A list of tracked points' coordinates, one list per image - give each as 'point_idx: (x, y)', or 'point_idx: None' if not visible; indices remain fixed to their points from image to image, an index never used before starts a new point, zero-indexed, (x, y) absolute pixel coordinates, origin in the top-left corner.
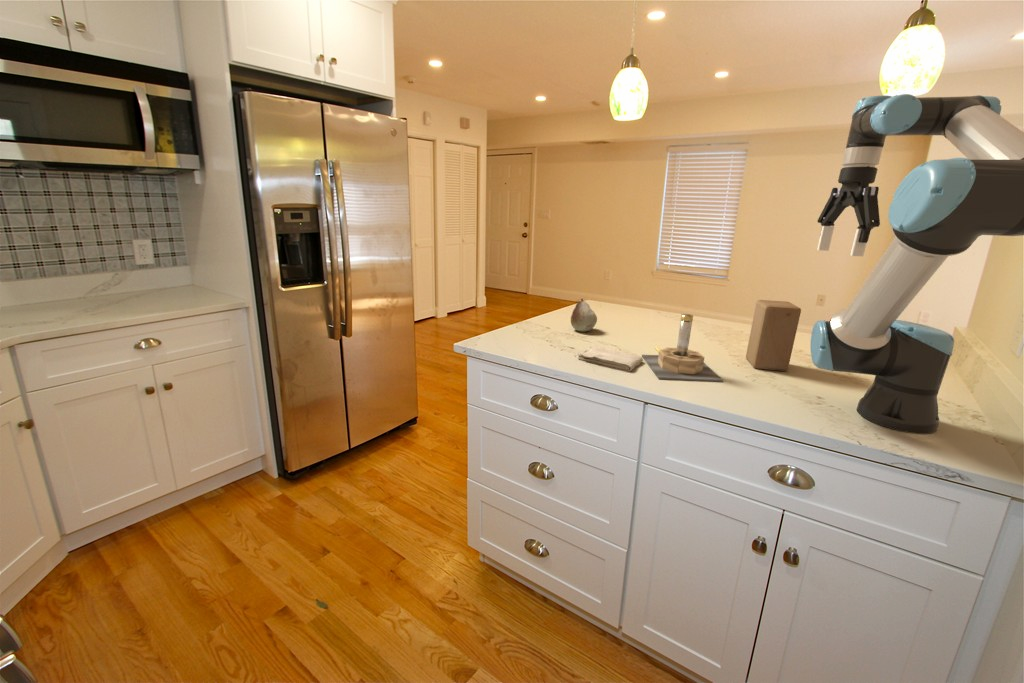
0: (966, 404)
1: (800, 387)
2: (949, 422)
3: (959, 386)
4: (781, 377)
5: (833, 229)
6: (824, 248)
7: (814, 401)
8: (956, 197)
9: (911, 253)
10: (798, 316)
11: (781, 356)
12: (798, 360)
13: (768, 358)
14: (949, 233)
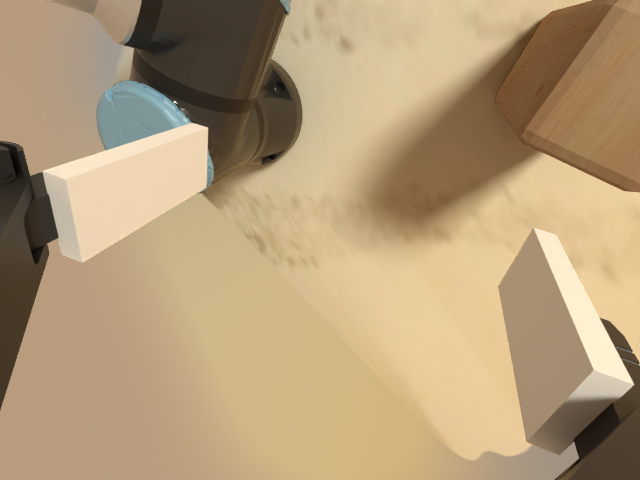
0: (294, 277)
1: (401, 47)
2: (244, 186)
3: (351, 341)
4: (467, 49)
5: (522, 413)
6: (515, 268)
7: (330, 13)
8: None
9: None
10: (516, 125)
11: (511, 80)
12: (551, 203)
13: (531, 45)
14: None
